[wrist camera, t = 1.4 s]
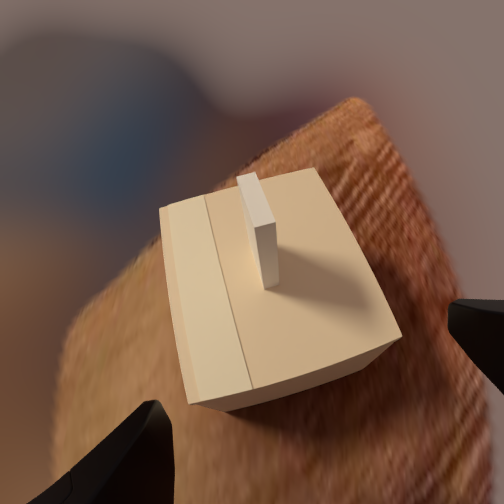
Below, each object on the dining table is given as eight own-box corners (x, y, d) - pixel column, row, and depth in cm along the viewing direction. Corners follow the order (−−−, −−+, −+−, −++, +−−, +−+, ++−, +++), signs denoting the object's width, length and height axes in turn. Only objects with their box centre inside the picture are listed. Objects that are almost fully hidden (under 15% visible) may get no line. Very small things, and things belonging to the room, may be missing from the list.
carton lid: (398, 339, 13) (448, 290, 9) (192, 405, 13) (140, 388, 8) (313, 173, 20) (316, 102, 15) (162, 214, 19) (130, 148, 15)
